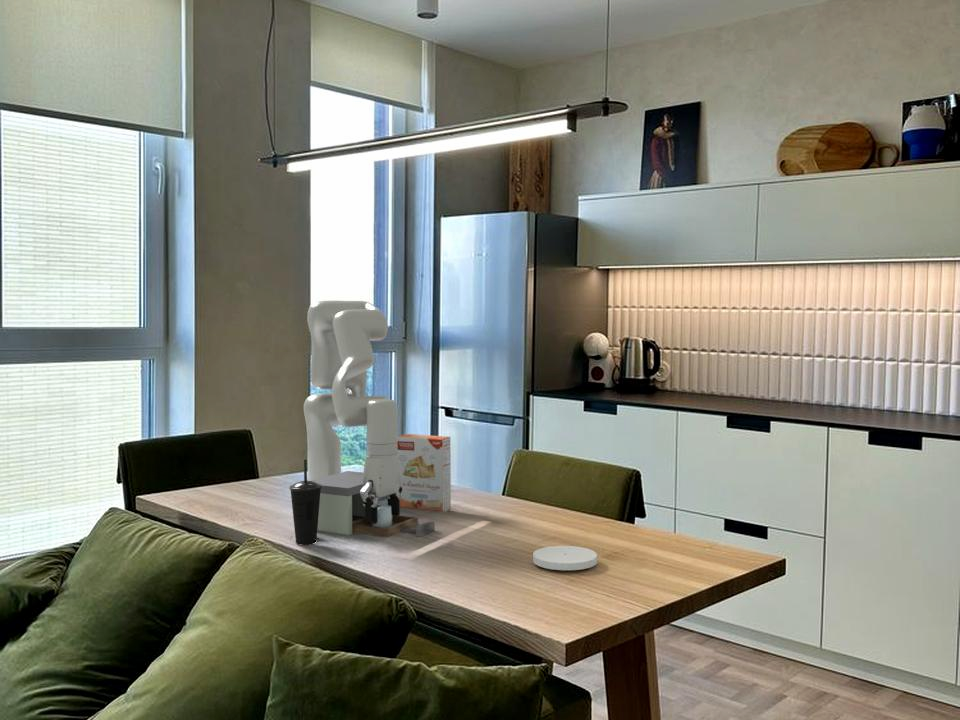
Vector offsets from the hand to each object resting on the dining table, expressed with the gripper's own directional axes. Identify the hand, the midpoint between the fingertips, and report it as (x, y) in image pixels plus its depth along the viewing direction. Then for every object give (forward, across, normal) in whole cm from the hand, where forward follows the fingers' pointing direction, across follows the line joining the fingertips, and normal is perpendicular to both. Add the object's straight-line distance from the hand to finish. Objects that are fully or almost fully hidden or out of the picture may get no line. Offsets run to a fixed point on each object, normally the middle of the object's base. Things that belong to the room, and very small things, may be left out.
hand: (382, 518), depth 221 cm
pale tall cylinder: (+3, -6, -4) cm, 8 cm away
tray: (+4, -3, +1) cm, 5 cm away
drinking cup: (+4, +13, -13) cm, 19 cm away
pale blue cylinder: (+3, 0, 0) cm, 3 cm away
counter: (+4, -3, -7) cm, 9 cm away
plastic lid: (+5, +2, +49) cm, 49 cm away
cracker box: (+4, -29, -6) cm, 30 cm away
